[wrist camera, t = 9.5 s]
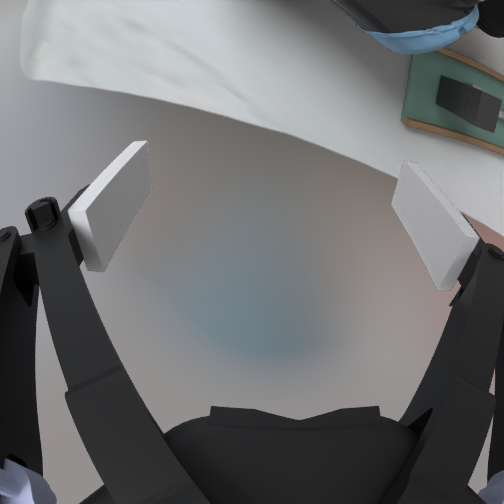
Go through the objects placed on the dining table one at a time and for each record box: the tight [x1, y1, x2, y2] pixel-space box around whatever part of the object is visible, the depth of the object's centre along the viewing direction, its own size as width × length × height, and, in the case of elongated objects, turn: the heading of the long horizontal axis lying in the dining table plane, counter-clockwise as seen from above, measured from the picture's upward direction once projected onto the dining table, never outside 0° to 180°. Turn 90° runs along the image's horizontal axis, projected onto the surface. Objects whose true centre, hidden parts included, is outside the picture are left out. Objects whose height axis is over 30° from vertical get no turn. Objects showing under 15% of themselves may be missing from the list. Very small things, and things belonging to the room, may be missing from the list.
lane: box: [401, 48, 504, 155], centre depth 35 cm, size 14×28×4 cm, turn 87°
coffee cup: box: [474, 0, 504, 38], centre depth 21 cm, size 9×9×15 cm
